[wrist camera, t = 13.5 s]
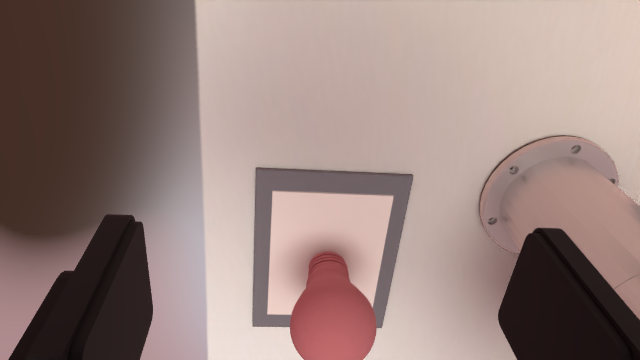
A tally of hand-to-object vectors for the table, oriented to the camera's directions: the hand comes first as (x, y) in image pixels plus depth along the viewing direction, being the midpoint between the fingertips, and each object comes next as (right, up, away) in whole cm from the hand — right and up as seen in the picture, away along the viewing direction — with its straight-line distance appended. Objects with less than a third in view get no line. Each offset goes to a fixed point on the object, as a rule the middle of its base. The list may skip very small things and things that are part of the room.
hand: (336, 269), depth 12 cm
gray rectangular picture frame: (0, -5, +36) cm, 36 cm away
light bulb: (0, -6, +36) cm, 36 cm away
